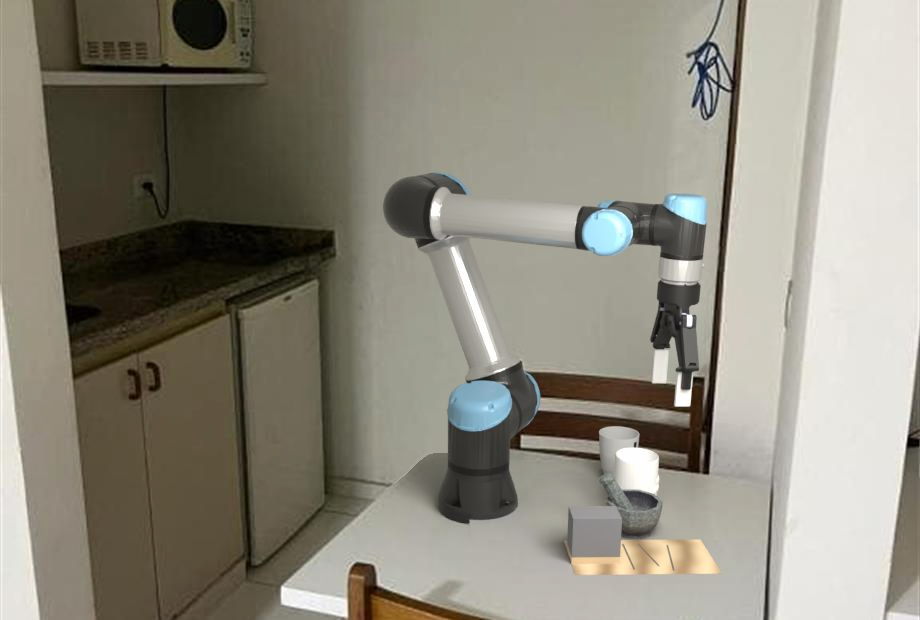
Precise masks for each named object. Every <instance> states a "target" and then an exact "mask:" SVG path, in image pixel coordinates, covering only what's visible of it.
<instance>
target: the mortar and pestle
mask: <svg viewBox="0 0 920 620" xmlns="http://www.w3.org/2000/svg"><path fill="white" fill-rule="evenodd" d="M614 478H615V476H614V474H613V473H611V472H609V473H605V474H602V475H600V477H599V478H598V479H599V480H598V482H599V483H600V484H601V485H602V486H603V488H604V490H605V491H606V492H605V493H606V494H607V499H606V501H605V502H606V503H605V506H616V507H617V509H618V511H619V514H620V516H621V518H622V530H621V537H622V538H626V539H628V540H644V539H645V538H648V537H650V534H651V532H652V531H653V530H655V528H656V527H657V525H658V524H659V521H660V517H661V514H662V510H663V500H662V499H661V498H660V497H658V495H657V496H656V495H655V494H653V493H649V492H645V491H642V490H625V489H622V490H621V488H620V486H619V485H618V483H617V482H616V480H615V479H614Z"/></svg>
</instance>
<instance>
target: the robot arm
mask: <svg viewBox="0 0 920 620" xmlns="http://www.w3.org/2000/svg"><path fill="white" fill-rule="evenodd" d="M386 191H387V192H386V193H385V195H384V199H383V201H382V202H383V204H382V211H383V216H384V219H385V222H386V224H388V227H389V228H390V229H391V230H392V231H393V232H394V233H396V234H397V235H400V236H401V237H404V238H408V239H414V241H415V244H416V246H417V249H418V251H420V252H422V253H424V254H426V255H427V256H428V258H429V260H430V263H431V266H432V269H433V272H434V273H435V277H436V280H437V282H438V285H439V288H440V291H441V293H442V297H443V299H444V302H445V304H446V307H447V310H448V312H449V315H450V319H451V321H452V323H453V327H454V329H455V332H456V335H457V338H458V341H459V343H460V346H461V349H462V352H463V355H464V357H465V360H466V362H467V365H468V371H467V372H466V376H465V377H464V379H465V383H463V384H460V385H458V386H457V387H456V388H454V389H453V390H452V391H451V392H450V394H449V396H448V397H449V398H448V404H447V410H446V412H447V470H446V473H445V476H444V479H443V481H442V484H441V487H440V489H439V492H438V496H437V497H438V499H437V505H438V507H437V509H438V511H439V512H440V513H441V515H443V516H444V517H446V518H448V519H450V520H452V521H455V522H459V523H465V524H470V522H471V521H489V520H495V519H501V518H504V517H506V516H509V515H510V514H513V513H514V512H515V511H516V510H517V508H518V506H519V503H518V501H519V498H518V493H517V490H516V486H515V482H514V481H513V477H512V474H511V471H510V457H511V456H510V455H511V453H510V452H511V440H512V439H513V438H514V436H516V435H517V434H518V433H519V432H520V431H522V429H524V428H525V427H527V426H528V425H530V423H531V422H532V421H533V420H534V417H536V414H537V413H538V410H539V407H540V405H541V392H540V389H539V385H538V383H537V381H536V380H535V378H534V377H533V376H532V375H531V374H530V373H528V372H527V371H525V370H524V368H523V364H522V362H521V359H520V358H519V357H517V356H515V355H513V354H511V353H510V350H509V348H508V345H507V342H506V339H505V337H504V334H503V331H502V329H501V326H500V323H499V321H498V320H499V319H498V318H497V315H496V312H495V309H494V306H493V304H492V300H491V297H490V294H489V292H488V290H487V287H486V284H485V281H484V278H483V274H482V272H481V269H480V267H479V264H478V261H477V259H476V256H475V253H474V250H473V248H472V245H471V241H470V240H471V239H472V238H473V239H481V240H490V241H500V242H501V241H502V242H508V243H516V244H517V243H519V244H528V245H537V246H545V247H546V246H547V247H555V248H564V249H574V250H575V249H576V250H581V251H586V252H587V251H589V252H591V253H592V254H594V255H596V256H599V257H600V256H601V257H608V256H609V257H610V256H611V257H612V256H615V255H618V254H620V253H622V252H623V251H625V250H626V249H627V248H628V247H630V246H632V245H641V246H644V245H645V246H651V247H652V246H653V247H660V252H659V253H660V254H659V259H658V260H659V261H658V273H657V276H658V278H659V279H660V280H659V281H658V282H657V288H656V289H657V290H656V300H657V302H658V307H657V312H656V316H655V320H654V323H653V327H652V332H651V335H650V339H649V340H650V343H652V348H653V356H652V369H651V381H650V382H651V384H667V376H668V365H669V356H670V355H669V353H670V352H669V351H670V350H669V349H671V343H670V341H671V339H672V338H673V339H674V344H675V349H676V350H675V351H676V355H677V361H678V362H677V363H678V366H676V368H675V372H676V376H675V378H676V380H675V387H674V388H675V389H674V398H673V399H674V400H673V401H674V402H673V406H674V407H691V400H692V390H693V389H692V388H693V381H694V380H693V379H694V378H693V377H694V372H699V371H700V361H699V347H698V337H697V319H698V318H697V315H696V314H690V308H691V307H692V306H695V305H699V303H700V297H701V288H702V287H701V286H702V285H701V283H700V281H701V280H702V273H703V269H704V268H705V262H703V261H704V252H705V244H706V243H705V241H706V232H707V225H708V224H707V223H708V221H707V219H708V218H707V216H708V215H707V214H708V213H707V211H708V201H707V199H706V198H705V197H704V196H702V195H700V194H695V193H677V192H676V193H667V194H666V195H665V196H664V200H663V203H647V202H645V203H644V202H633V201H632V202H631V201H622V200H618V199H616V200H602V201H600V202H599V203H598V205H597V206H592V205H591V206H587V205H586V206H585V205H576V204H569V203H568V204H566V203H554V202H546V201H545V202H543V201H535V200H525V199H513V198H502V197H493V196H492V197H491V196H482V195H473V194H472V195H471V194H470V191H469V190H468V188H467V186H466V184H465V183H464V182H463V181H462V180H461V179H459V178H458V177H456V176H454V175H452V174H449V173H445V172H430V173H425V174H420V175H419V174H418V175H412V176H407V177H403V178H400V179H399V180H397V181H395V182H394V183H392V185H391V186H390V187H389V188H388V189H387V190H386ZM470 520H471V521H470Z"/></svg>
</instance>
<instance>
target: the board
mask: <svg viewBox="0 0 920 620" xmlns="http://www.w3.org/2000/svg"><path fill="white" fill-rule="evenodd" d="M563 542H564V545H565V548H566V550H567V540H563ZM571 568H572V569H573V573H574V576H593V575H594V576H595V575H596V576H604V575H607V576H608V575H610V576H611V575H615V576H618V575H619V576H620V575H623V576H625V575H627V576H628V575H698V574H700V575H701V574H702V575H709V574H711V575H713V574H715V575H717V574H719V575H720V574H721V575H722V574H723V573H722V571H721V569H720V568H719V566H718V565H717V563H716V561H715V560H714V559H713V557H712V556H711V553H709V551H708V549H707V548H706V546H705V544H704V543H703V541H702V540H701V538H699V539H692V538H691V539H621V549H620V564H571Z"/></svg>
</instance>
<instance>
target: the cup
mask: <svg viewBox="0 0 920 620" xmlns="http://www.w3.org/2000/svg"><path fill="white" fill-rule="evenodd" d="M598 436H599V437H598V439H599V440H598V443H599V445H598V447H599V451H598V452H599V457H600V464H601V466H600V467H601V470H602V473H603V474H605V473H609V472H611V473H613V474H614V468H615V454H616V452H617V451H618V450H620V449H623V448H639V443H640V433H639V431H638V430H637V429H633V428H631V427H625V426H618V425H617V426H616V425H613V426H612V425H611V426H605V427H603V428H600V429H599V431H598ZM603 474H602V475H603Z"/></svg>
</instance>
